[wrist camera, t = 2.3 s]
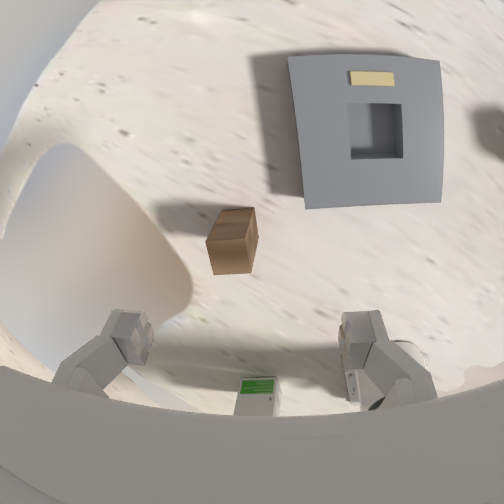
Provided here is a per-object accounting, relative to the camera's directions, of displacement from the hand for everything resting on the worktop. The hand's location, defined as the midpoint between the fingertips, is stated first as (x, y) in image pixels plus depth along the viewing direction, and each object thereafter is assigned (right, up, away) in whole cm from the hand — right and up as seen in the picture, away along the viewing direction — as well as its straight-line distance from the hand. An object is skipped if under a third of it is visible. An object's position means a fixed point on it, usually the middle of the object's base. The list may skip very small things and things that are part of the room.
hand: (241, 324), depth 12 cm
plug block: (-1, +7, +30) cm, 30 cm away
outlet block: (+15, +18, +21) cm, 31 cm away
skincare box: (+2, -26, +49) cm, 55 cm away
